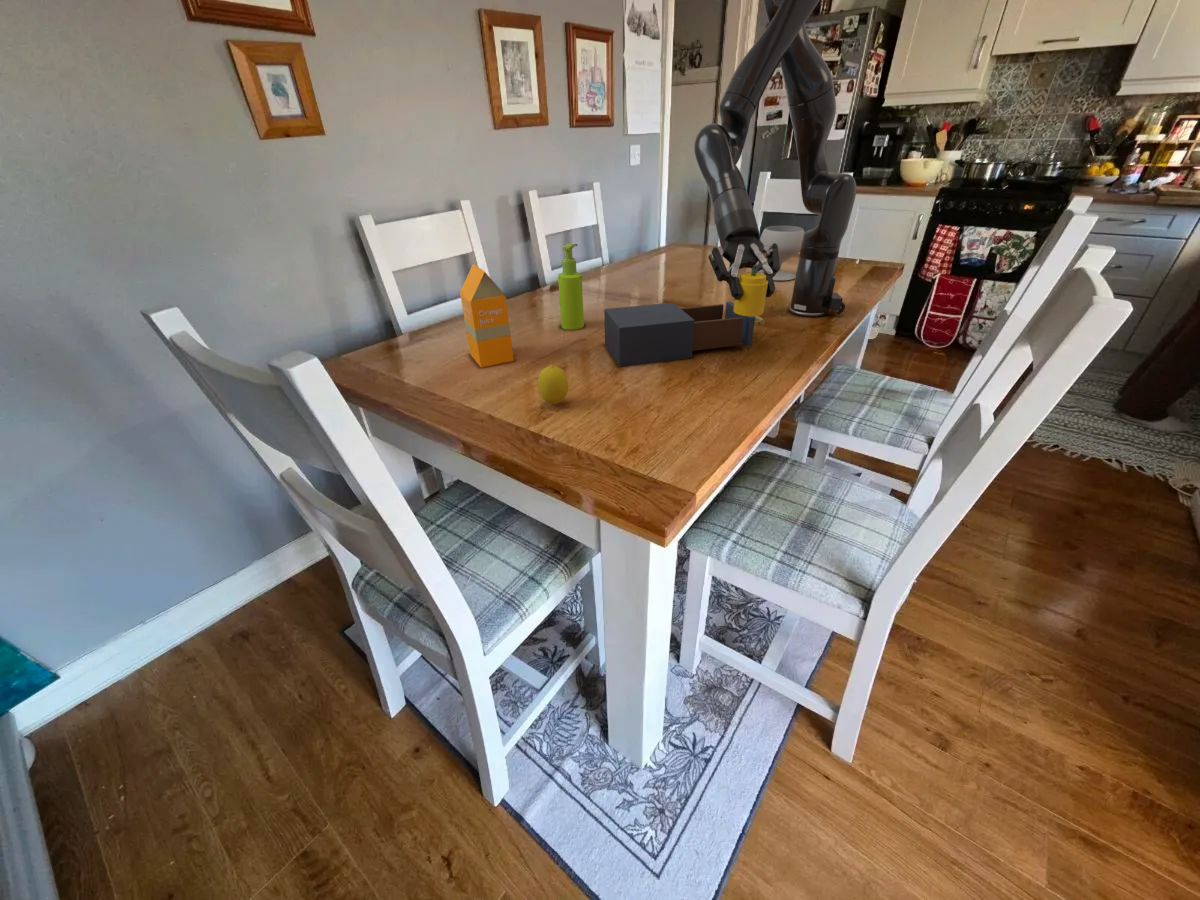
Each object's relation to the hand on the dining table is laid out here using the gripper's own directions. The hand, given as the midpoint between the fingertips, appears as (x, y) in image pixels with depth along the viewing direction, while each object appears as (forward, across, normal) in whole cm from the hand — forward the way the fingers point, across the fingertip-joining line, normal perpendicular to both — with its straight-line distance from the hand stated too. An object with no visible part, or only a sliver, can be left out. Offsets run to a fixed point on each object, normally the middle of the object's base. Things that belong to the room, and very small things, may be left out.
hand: (754, 296), depth 98 cm
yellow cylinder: (+1, 0, +4) cm, 4 cm away
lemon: (+14, -40, +8) cm, 44 cm away
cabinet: (-1, -16, +23) cm, 28 cm away
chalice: (-37, +45, +59) cm, 83 cm away
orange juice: (-5, -51, +28) cm, 58 cm away
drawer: (-2, +1, +22) cm, 22 cm away
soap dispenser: (-17, -29, +39) cm, 52 cm away
